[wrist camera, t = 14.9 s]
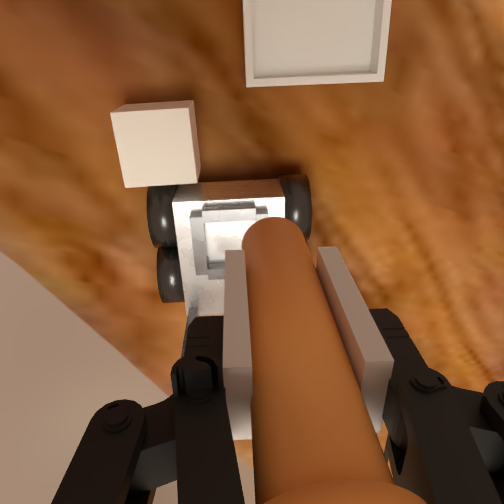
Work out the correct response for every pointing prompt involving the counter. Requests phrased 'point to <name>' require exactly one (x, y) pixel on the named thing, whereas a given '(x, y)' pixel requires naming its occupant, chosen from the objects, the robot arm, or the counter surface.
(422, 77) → the counter surface
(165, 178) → the off-white matte cube
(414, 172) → the counter surface
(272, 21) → the tray
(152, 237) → the trolley
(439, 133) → the counter surface
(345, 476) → the pin
